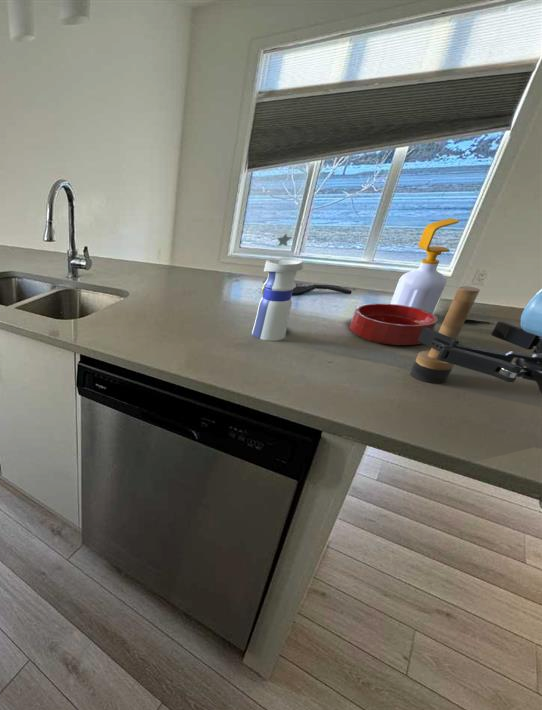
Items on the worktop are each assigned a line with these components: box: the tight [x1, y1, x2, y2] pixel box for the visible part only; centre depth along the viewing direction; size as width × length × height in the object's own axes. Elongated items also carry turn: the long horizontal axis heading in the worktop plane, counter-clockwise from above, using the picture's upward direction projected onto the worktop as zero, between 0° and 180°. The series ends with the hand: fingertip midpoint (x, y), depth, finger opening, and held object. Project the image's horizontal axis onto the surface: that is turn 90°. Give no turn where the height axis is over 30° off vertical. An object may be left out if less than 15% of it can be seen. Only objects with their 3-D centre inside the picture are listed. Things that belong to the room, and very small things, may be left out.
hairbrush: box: [262, 277, 353, 296], centre depth 130 cm, size 8×4×25 cm
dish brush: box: [409, 285, 481, 384], centre depth 79 cm, size 6×6×19 cm
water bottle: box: [251, 232, 304, 342], centre depth 100 cm, size 8×8×25 cm
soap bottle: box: [389, 217, 460, 315], centre depth 103 cm, size 9×9×25 cm
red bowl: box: [349, 302, 439, 346], centre depth 99 cm, size 15×15×6 cm
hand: (459, 331), depth 76 cm, fingers open, 13 cm apart
